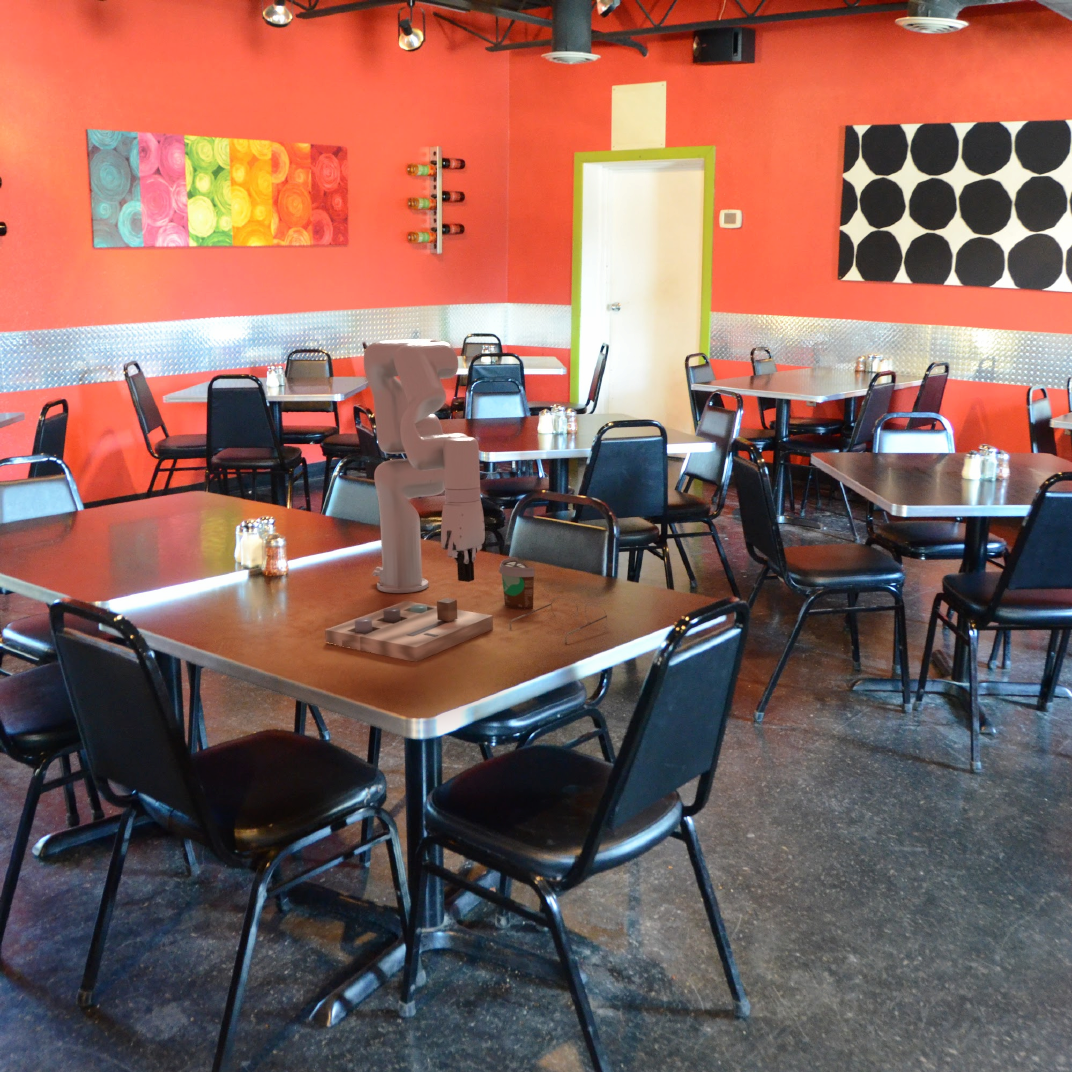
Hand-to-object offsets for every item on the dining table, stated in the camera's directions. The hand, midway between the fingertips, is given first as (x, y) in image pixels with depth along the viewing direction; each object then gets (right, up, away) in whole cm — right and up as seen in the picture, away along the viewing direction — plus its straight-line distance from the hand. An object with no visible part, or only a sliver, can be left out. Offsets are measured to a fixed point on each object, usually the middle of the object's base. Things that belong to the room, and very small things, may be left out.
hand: (466, 580), depth 249 cm
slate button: (-21, -11, -8) cm, 25 cm away
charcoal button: (-16, -9, -1) cm, 18 cm away
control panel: (-11, -12, -3) cm, 17 cm away
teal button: (-11, -9, +7) cm, 15 cm away
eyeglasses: (+20, -11, +1) cm, 23 cm away
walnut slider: (-4, -8, -3) cm, 10 cm away
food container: (+10, -7, +19) cm, 23 cm away
